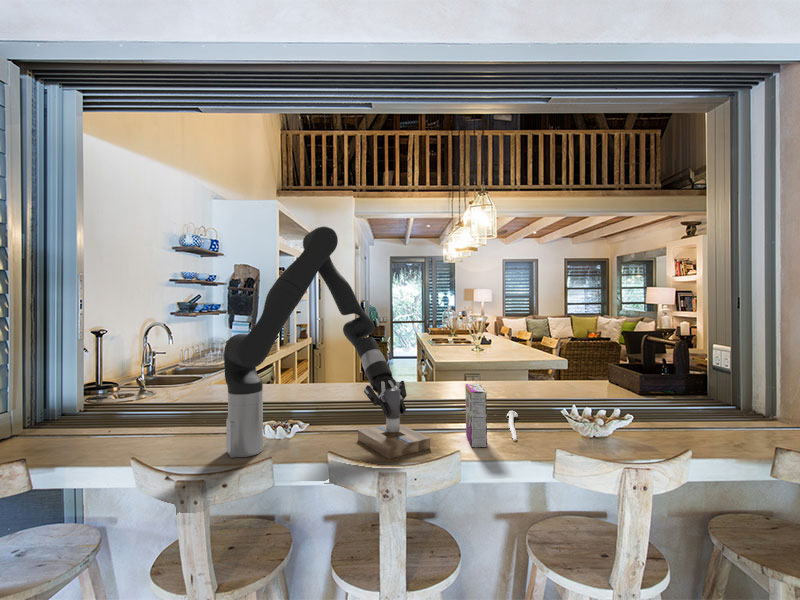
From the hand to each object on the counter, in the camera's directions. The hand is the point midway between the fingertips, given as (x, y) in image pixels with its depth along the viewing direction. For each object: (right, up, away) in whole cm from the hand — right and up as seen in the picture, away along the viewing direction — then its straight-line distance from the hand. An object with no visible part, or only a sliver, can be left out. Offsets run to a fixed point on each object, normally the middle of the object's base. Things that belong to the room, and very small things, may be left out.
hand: (396, 413), depth 121 cm
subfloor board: (-1, -9, +1) cm, 10 cm away
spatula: (+39, -10, +17) cm, 44 cm away
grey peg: (-1, -5, +2) cm, 6 cm away
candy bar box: (+24, -10, +3) cm, 26 cm away
